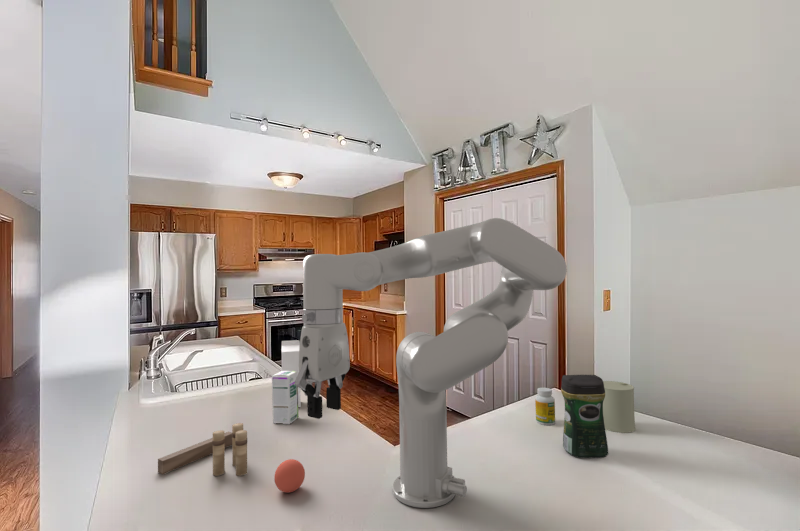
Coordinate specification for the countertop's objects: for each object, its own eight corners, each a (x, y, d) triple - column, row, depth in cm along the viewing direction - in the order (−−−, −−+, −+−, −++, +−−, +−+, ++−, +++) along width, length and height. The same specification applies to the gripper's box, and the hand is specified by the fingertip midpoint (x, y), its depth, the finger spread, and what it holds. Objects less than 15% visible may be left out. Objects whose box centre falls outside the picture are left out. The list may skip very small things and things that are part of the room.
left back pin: (227, 472, 89) (227, 431, 89) (217, 477, 87) (217, 435, 87) (220, 469, 90) (220, 429, 91) (210, 474, 88) (210, 433, 88)
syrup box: (290, 424, 117) (289, 375, 118) (271, 423, 118) (271, 374, 119) (298, 417, 123) (298, 370, 123) (281, 416, 124) (280, 370, 124)
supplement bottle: (541, 417, 119) (540, 385, 120) (558, 422, 116) (557, 389, 116) (532, 422, 116) (531, 389, 116) (550, 427, 112) (549, 393, 112)
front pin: (249, 472, 89) (249, 431, 89) (240, 476, 87) (240, 435, 87) (242, 469, 90) (242, 429, 90) (233, 474, 88) (232, 433, 88)
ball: (311, 487, 82) (311, 457, 82) (289, 501, 77) (289, 470, 77) (290, 480, 85) (290, 451, 85) (268, 493, 80) (267, 463, 80)
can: (643, 429, 109) (642, 385, 109) (619, 435, 106) (617, 389, 106) (614, 418, 118) (613, 378, 118) (590, 423, 114) (589, 381, 115)
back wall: (233, 444, 104) (233, 432, 104) (162, 474, 88) (162, 460, 88) (228, 443, 105) (228, 431, 105) (157, 472, 89) (157, 459, 89)
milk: (300, 407, 133) (300, 341, 133) (281, 409, 131) (281, 342, 131) (299, 402, 139) (299, 338, 139) (281, 403, 137) (281, 339, 137)
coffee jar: (597, 445, 99) (595, 371, 100) (613, 460, 92) (610, 379, 92) (558, 445, 100) (556, 371, 100) (570, 460, 92) (568, 379, 93)
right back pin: (246, 462, 93) (245, 424, 94) (236, 467, 91) (236, 427, 91) (239, 460, 95) (238, 422, 95) (229, 464, 92) (229, 425, 93)
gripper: (306, 323, 68) (307, 431, 67) (364, 314, 82) (366, 403, 82) (275, 321, 72) (276, 423, 71) (336, 313, 86) (337, 398, 86)
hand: (324, 411), depth 76 cm, fingers open, 4 cm apart
